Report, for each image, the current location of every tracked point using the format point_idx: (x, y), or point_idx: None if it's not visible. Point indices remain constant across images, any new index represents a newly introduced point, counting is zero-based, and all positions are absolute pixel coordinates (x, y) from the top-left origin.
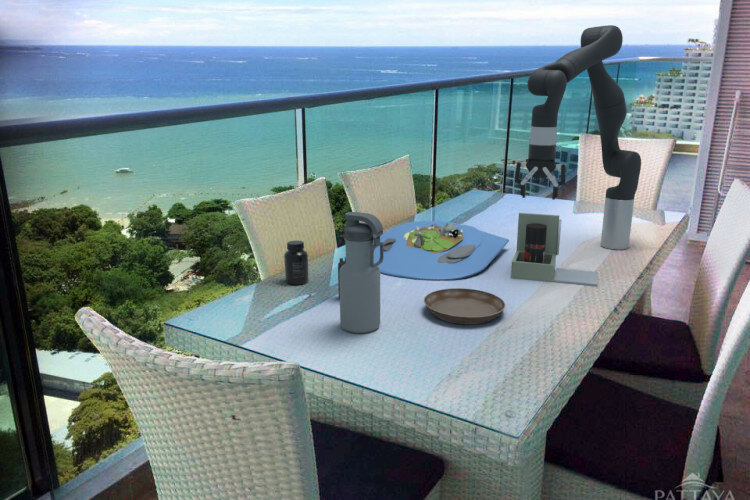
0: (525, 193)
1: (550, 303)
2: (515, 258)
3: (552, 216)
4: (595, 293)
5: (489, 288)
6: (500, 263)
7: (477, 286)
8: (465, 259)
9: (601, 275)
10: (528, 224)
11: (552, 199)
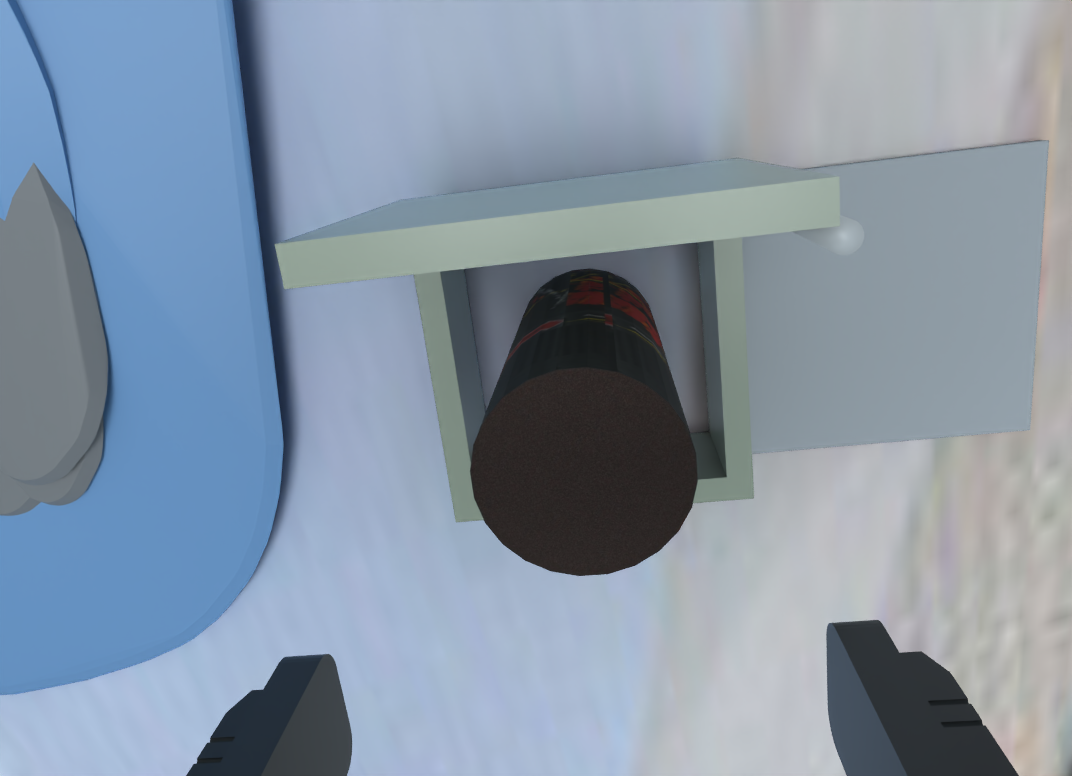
0: (314, 710)
1: (763, 765)
2: (458, 437)
3: (741, 233)
4: (1002, 549)
5: (419, 677)
6: (316, 197)
7: (351, 671)
8: (118, 421)
9: (1067, 169)
10: (486, 456)
11: (830, 711)
